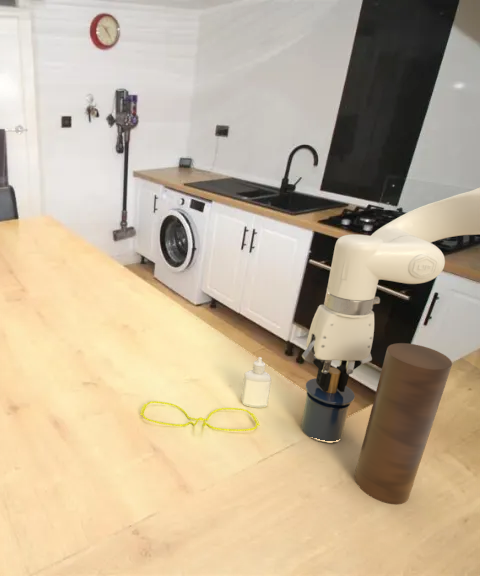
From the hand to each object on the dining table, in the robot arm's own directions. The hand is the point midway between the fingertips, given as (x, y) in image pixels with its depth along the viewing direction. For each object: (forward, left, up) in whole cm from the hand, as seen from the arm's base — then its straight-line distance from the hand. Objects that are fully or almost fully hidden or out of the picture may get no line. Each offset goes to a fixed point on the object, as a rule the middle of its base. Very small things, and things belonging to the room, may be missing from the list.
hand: (330, 387), depth 81 cm
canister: (0, 0, -11) cm, 11 cm away
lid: (0, 0, -1) cm, 1 cm away
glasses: (+25, -2, -11) cm, 27 cm away
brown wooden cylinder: (-4, +14, -11) cm, 18 cm away
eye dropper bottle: (+11, -9, -11) cm, 18 cm away
